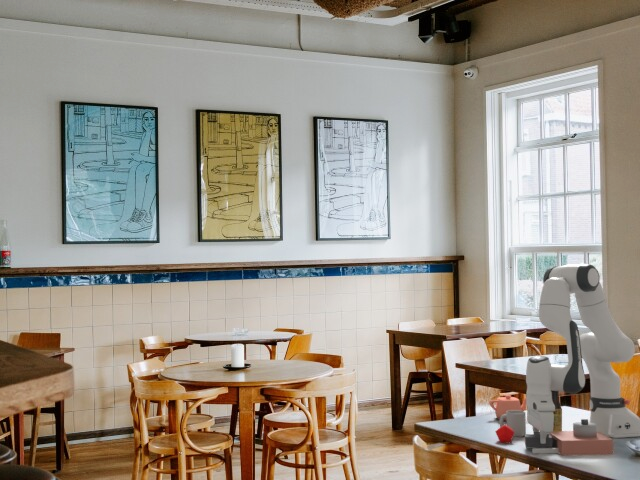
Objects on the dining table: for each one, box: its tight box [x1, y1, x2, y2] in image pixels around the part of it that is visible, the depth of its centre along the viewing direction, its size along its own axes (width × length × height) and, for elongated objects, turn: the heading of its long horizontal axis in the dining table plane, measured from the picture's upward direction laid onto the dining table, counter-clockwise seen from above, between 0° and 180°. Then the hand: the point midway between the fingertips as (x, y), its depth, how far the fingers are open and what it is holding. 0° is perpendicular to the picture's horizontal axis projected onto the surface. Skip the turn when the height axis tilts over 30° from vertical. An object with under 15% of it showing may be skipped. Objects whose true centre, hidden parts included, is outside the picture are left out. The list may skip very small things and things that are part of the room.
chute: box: [524, 430, 552, 448], centre depth 292 cm, size 9×5×5 cm, turn 80°
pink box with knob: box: [525, 418, 614, 456], centre depth 292 cm, size 27×16×11 cm, turn 92°
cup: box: [498, 410, 527, 438], centre depth 319 cm, size 7×10×9 cm
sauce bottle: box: [551, 390, 563, 431], centre depth 310 cm, size 6×6×20 cm
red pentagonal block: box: [495, 424, 514, 444], centre depth 307 cm, size 7×7×8 cm
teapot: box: [488, 394, 527, 422], centre depth 351 cm, size 12×18×10 cm, turn 90°
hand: (539, 441), depth 292 cm, fingers closed on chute, 5 cm apart
